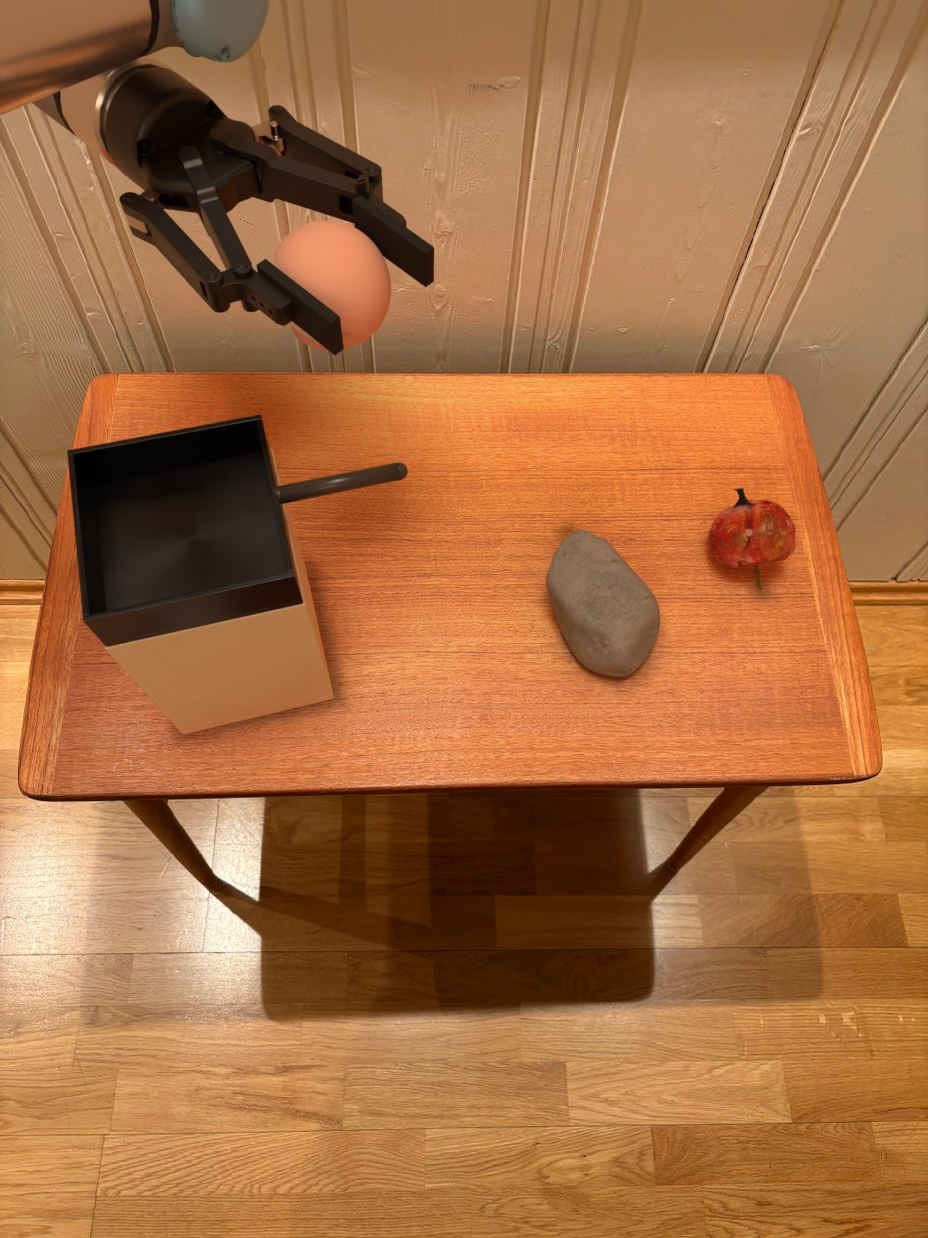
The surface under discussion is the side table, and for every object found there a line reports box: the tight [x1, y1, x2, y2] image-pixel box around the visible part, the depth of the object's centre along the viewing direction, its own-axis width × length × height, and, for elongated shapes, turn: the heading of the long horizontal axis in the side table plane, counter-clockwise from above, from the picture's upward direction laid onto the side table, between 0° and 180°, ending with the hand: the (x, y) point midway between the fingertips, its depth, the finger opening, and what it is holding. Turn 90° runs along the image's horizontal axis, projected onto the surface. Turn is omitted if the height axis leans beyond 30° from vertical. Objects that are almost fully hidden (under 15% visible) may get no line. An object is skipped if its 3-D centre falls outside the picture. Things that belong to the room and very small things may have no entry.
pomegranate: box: [708, 487, 797, 591], centre depth 78 cm, size 7×7×10 cm
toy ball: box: [273, 219, 392, 351], centre depth 55 cm, size 8×8×8 cm
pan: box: [66, 414, 409, 647], centre depth 56 cm, size 22×13×4 cm, turn 105°
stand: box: [104, 447, 335, 735], centre depth 66 cm, size 13×13×19 cm
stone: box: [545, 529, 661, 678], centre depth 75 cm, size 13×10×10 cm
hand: (384, 300), depth 52 cm, fingers closed on toy ball, 7 cm apart
